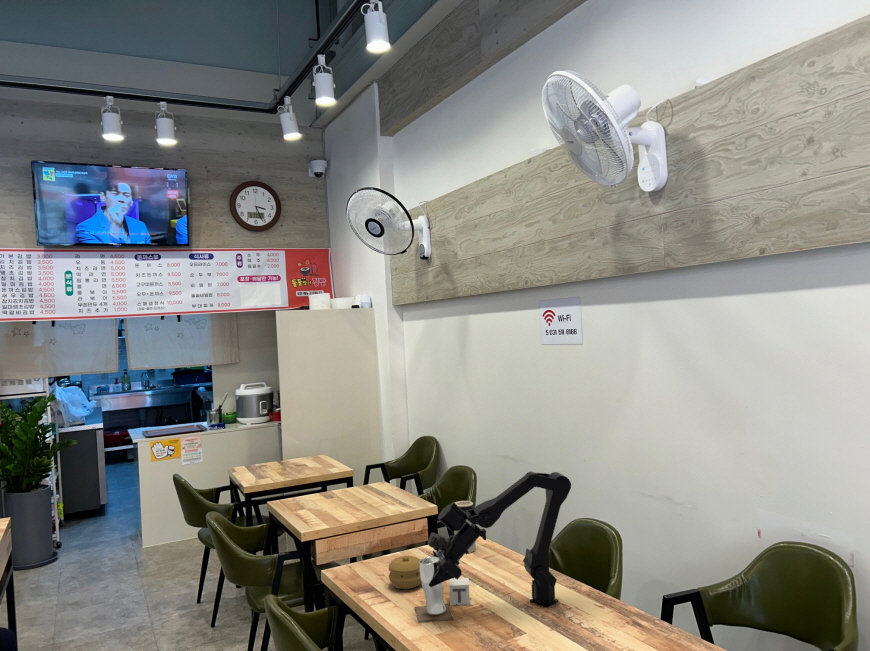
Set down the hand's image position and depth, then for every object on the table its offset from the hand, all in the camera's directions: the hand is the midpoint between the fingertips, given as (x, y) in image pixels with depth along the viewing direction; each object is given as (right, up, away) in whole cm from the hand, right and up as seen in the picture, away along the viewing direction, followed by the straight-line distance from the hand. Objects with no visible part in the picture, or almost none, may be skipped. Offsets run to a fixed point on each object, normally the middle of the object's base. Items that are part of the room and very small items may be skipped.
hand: (427, 581), depth 192 cm
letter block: (+10, -10, +9) cm, 16 cm away
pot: (-7, -11, +23) cm, 26 cm away
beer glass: (+3, -9, 0) cm, 9 cm away
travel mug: (+14, -10, +57) cm, 59 cm away
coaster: (+2, -10, 0) cm, 10 cm away
